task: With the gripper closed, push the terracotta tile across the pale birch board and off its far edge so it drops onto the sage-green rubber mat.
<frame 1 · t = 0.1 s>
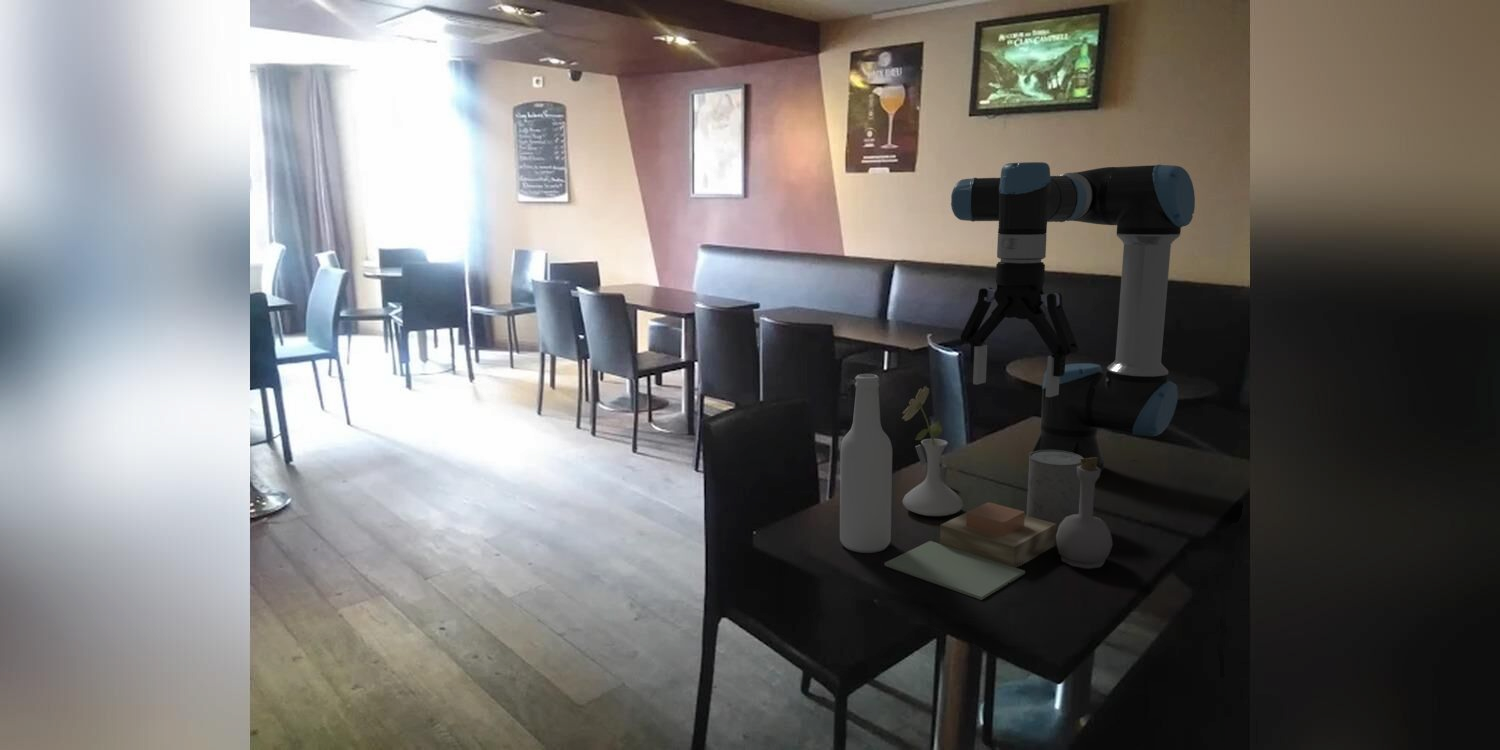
hand: (1014, 389, 145), 28 cm above the table, tool pointing down, fingers open, 13 cm apart
lighter: (930, 483, 185), on the table
birch board: (997, 546, 151), on the table
terracotta tile: (995, 525, 149), point 4 cm above the table, touching birch board
alcohol: (865, 545, 153), on the table
flower in vase: (929, 513, 168), on the table
white cylinder: (1052, 521, 163), on the table
rubber mat: (953, 569, 142), on the table
potion bottle: (1082, 561, 145), on the table
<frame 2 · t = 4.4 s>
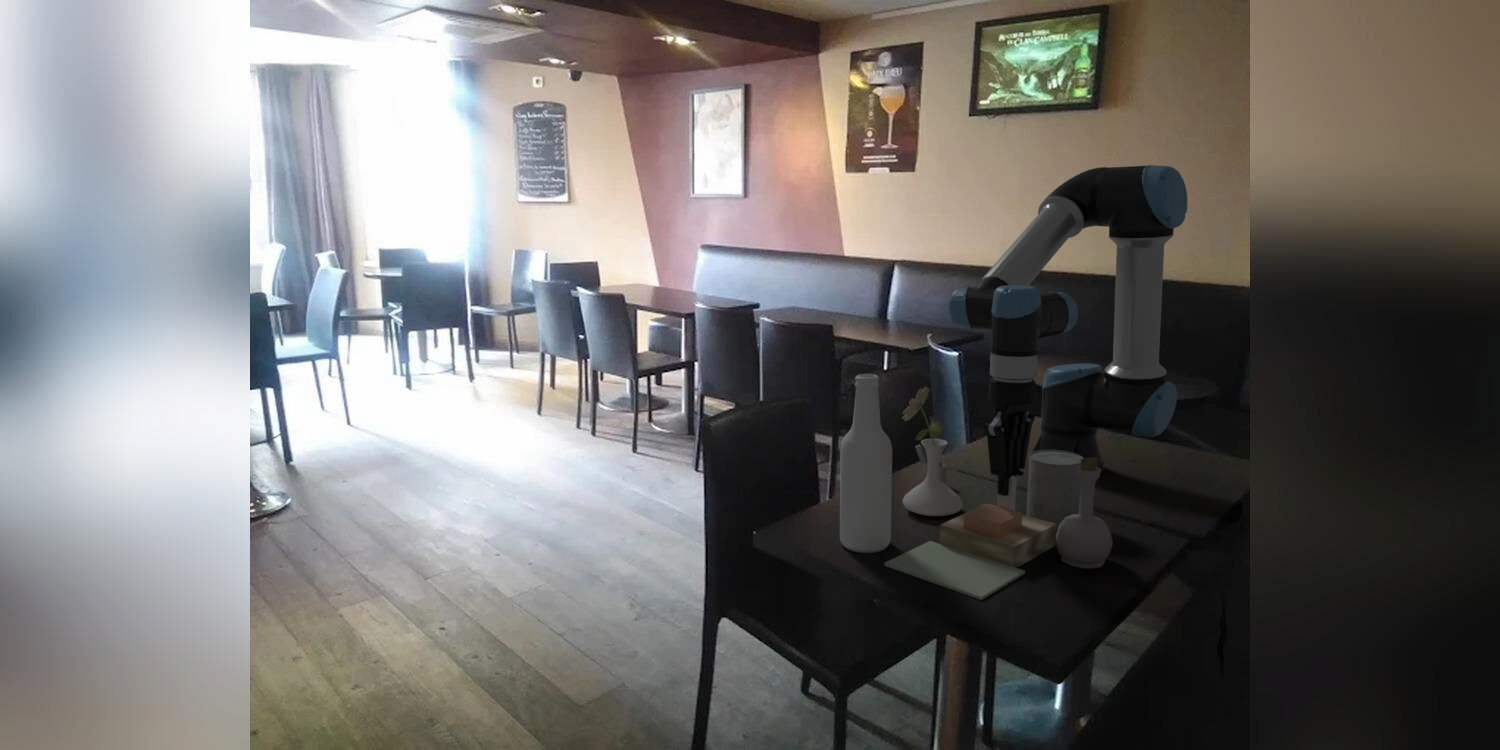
hand: (1005, 511, 151), 6 cm above the table, tool pointing down, fingers closed
terracotta tile: (992, 527, 149), point 4 cm above the table, touching birch board, gripper
everything else where it was.
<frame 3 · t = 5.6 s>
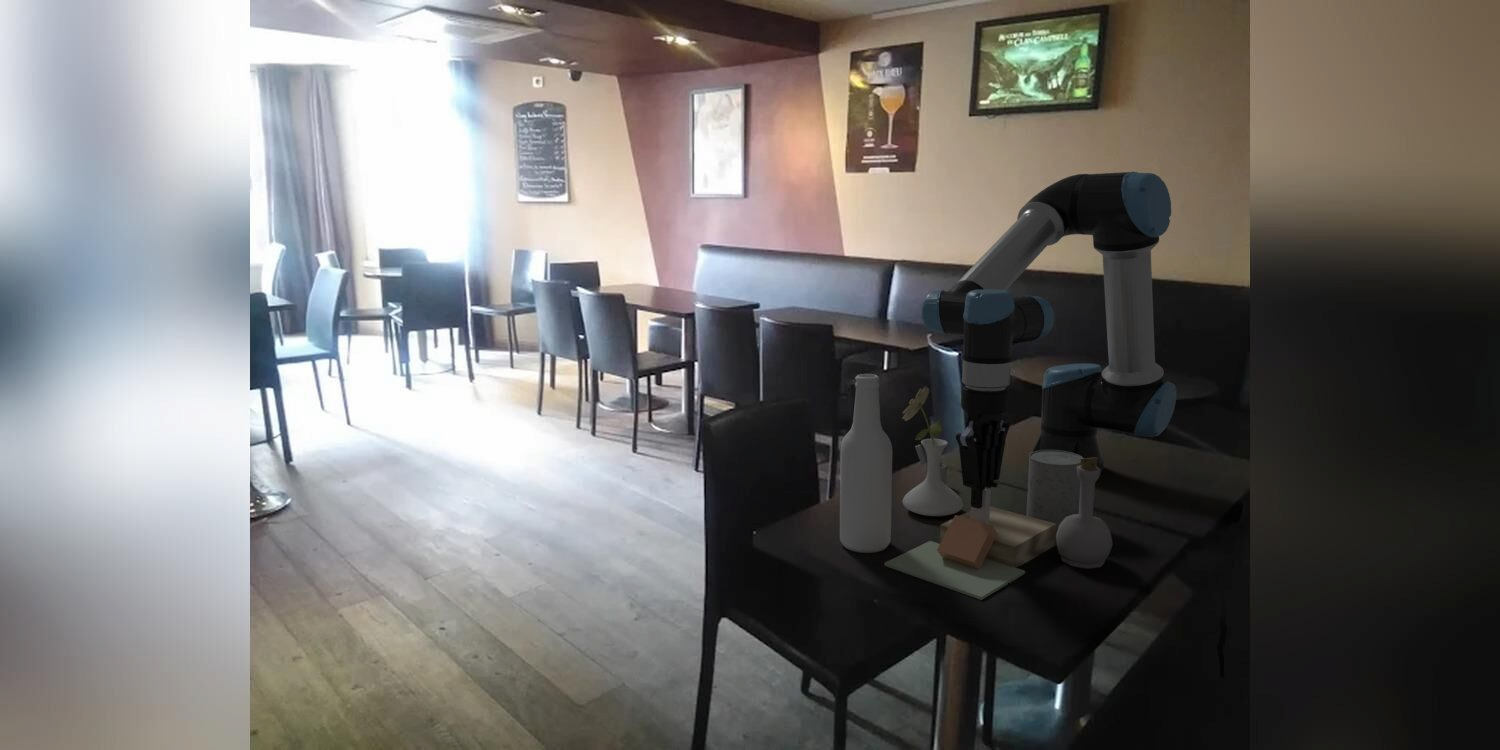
hand: (979, 524, 146), 6 cm above the table, tool pointing down, fingers closed
terracotta tile: (969, 545, 144), point 3 cm above the table, tilted 43°, touching gripper
everything else where it was.
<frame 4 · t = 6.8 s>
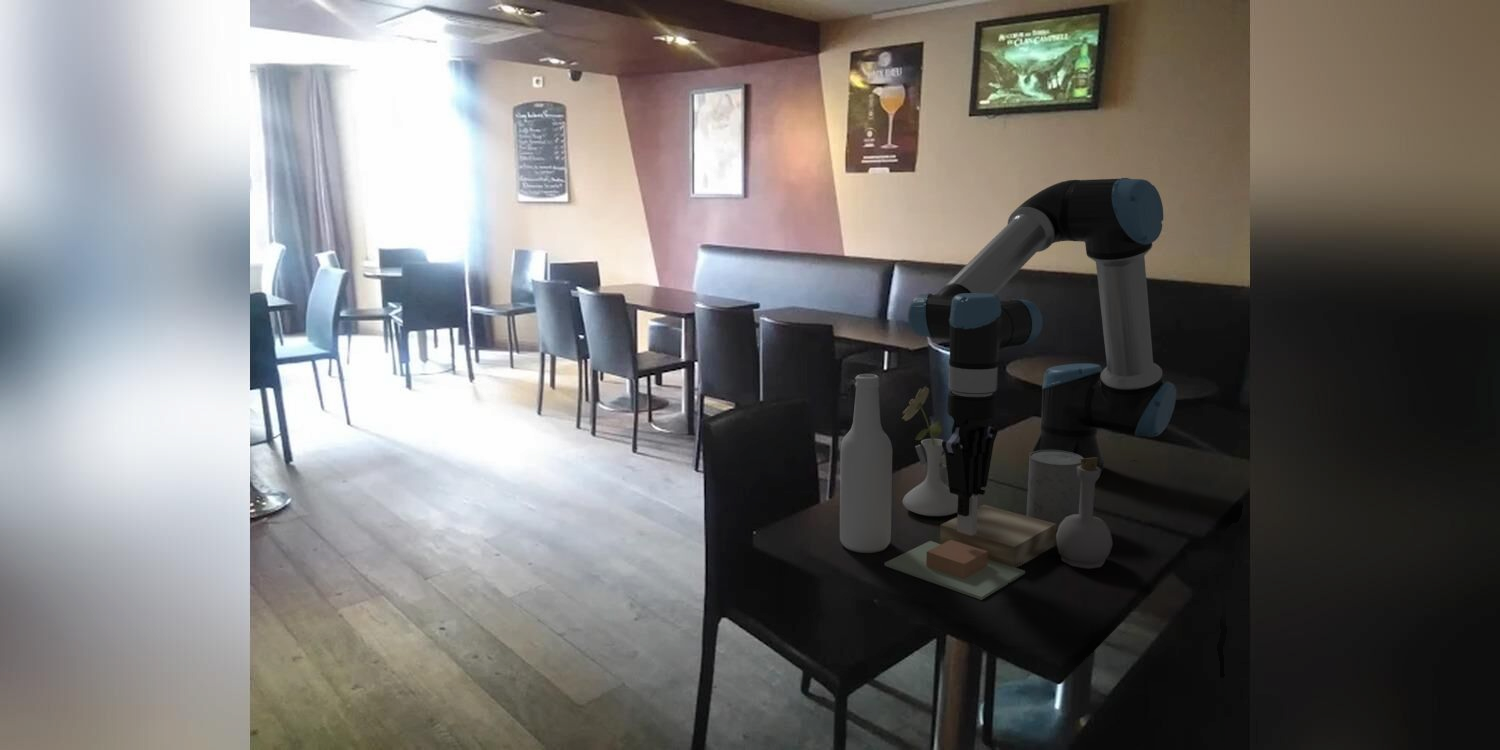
hand: (966, 532, 143), 5 cm above the table, tool pointing down, fingers closed
terracotta tile: (956, 565, 142), resting on rubber mat
everything else where it was.
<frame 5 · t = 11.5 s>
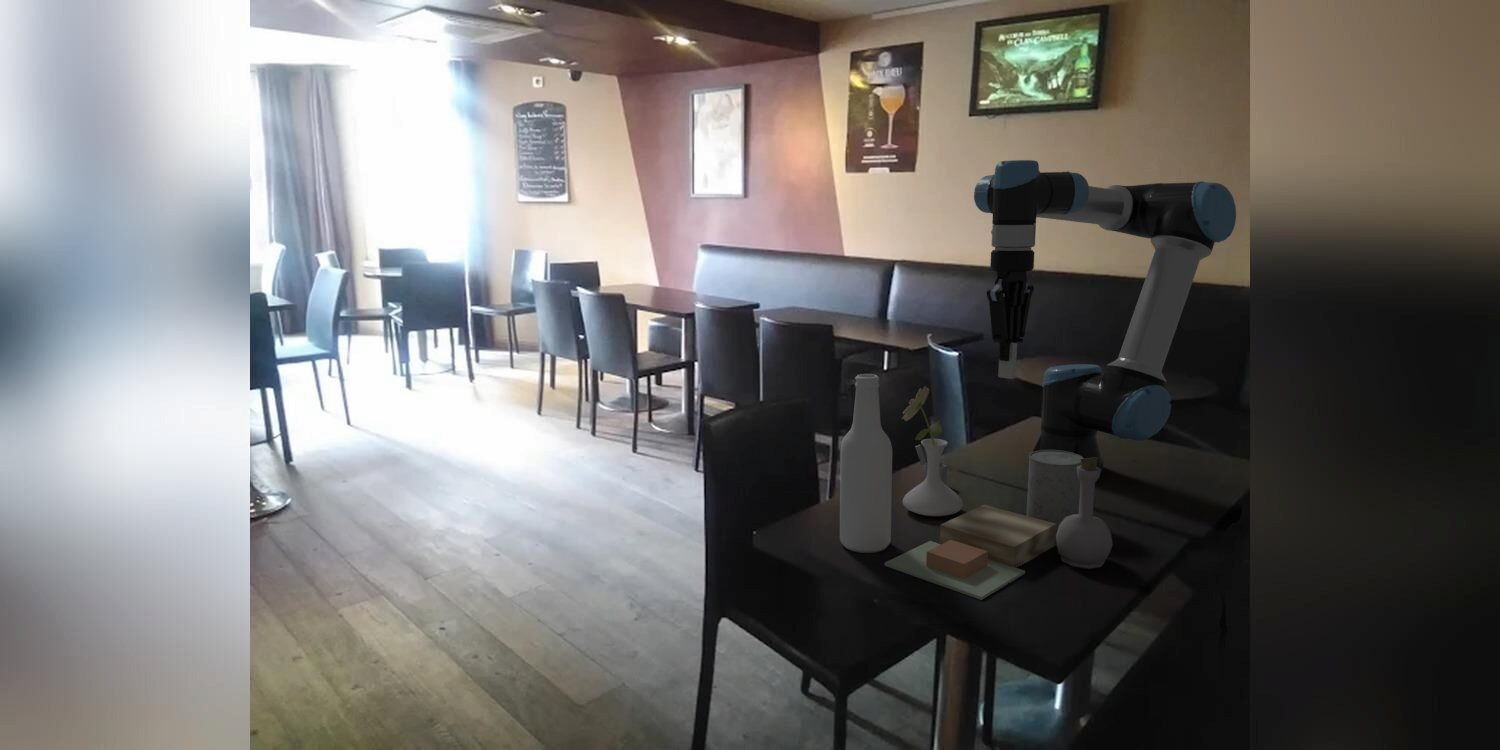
hand: (1006, 377, 162), 26 cm above the table, tool pointing down, fingers closed
nothing on the table moved.
at the end: terracotta tile inside the target area (1.1 cm from its centre), point 0.5 cm above the table; terracotta tile touching rubber mat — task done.
